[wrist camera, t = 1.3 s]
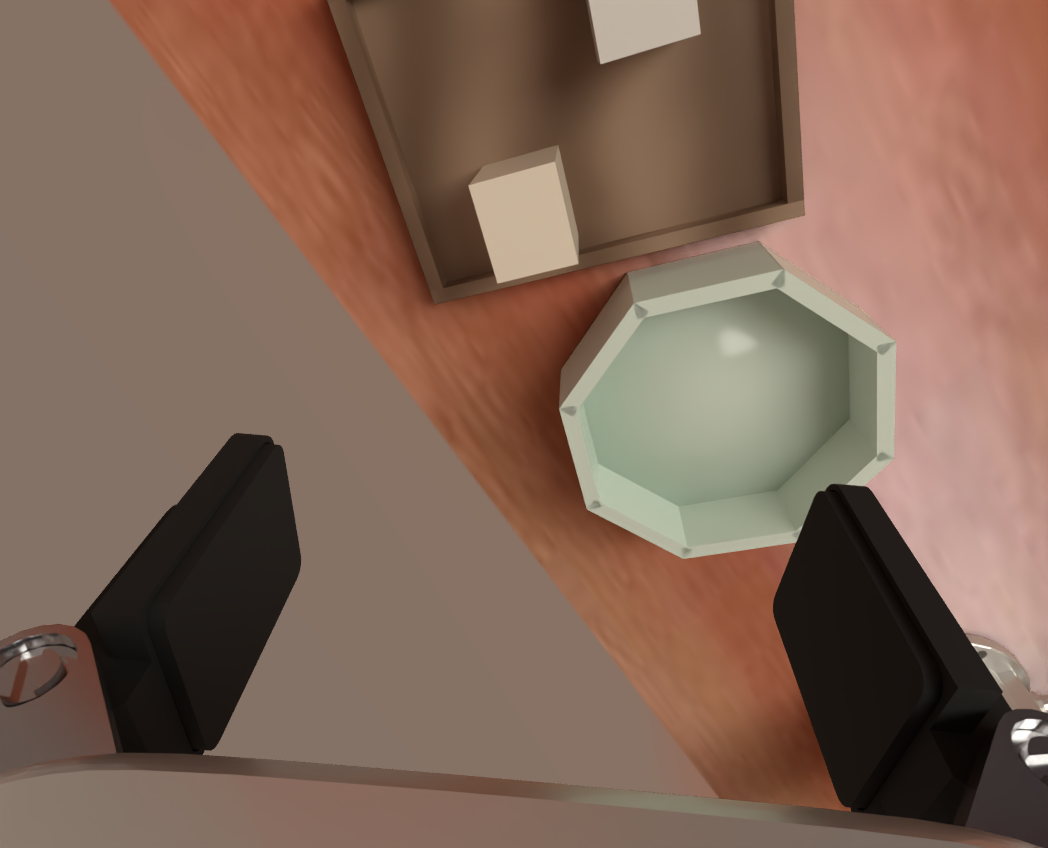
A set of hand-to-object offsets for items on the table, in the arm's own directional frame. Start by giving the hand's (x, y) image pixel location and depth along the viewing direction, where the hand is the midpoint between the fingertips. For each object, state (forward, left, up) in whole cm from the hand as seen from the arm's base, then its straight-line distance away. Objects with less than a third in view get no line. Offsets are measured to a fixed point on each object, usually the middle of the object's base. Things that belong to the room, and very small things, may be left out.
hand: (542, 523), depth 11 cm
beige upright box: (+1, -1, -23) cm, 23 cm away
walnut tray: (-2, -5, -23) cm, 24 cm away
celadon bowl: (-6, +11, -23) cm, 27 cm away
